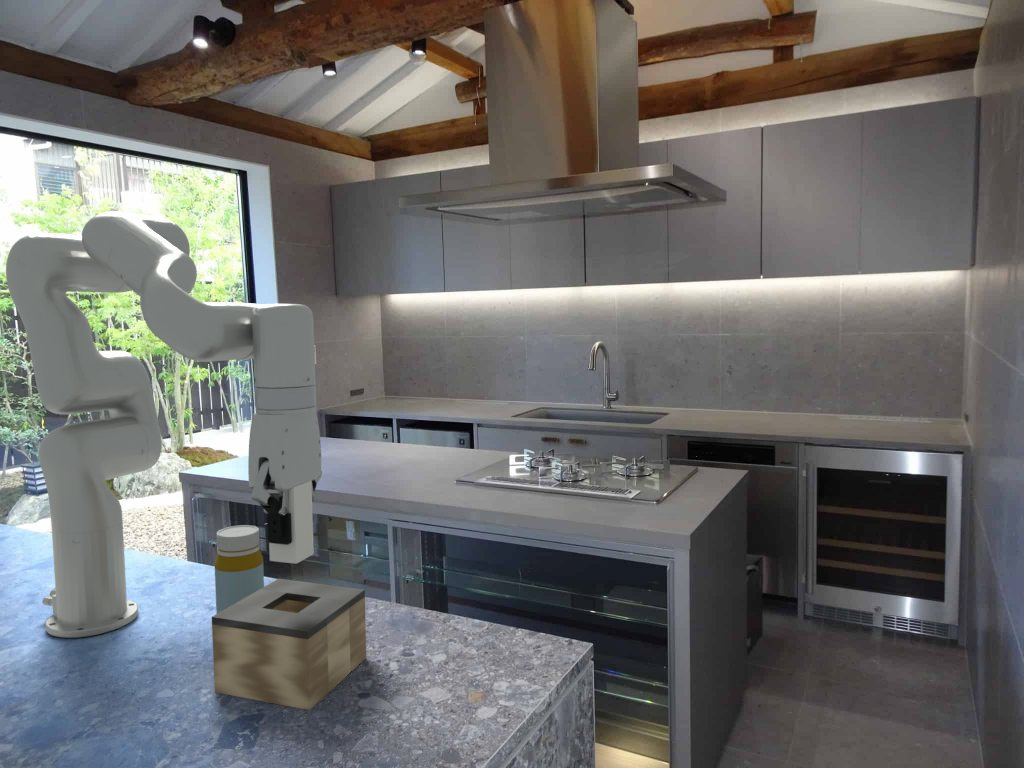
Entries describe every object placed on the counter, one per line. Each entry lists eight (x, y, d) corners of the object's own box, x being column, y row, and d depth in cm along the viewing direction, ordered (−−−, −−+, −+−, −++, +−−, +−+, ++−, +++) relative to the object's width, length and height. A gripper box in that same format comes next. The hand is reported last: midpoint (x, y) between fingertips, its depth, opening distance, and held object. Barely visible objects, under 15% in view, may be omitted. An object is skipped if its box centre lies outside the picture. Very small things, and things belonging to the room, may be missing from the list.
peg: (269, 560, 94) (266, 485, 93) (288, 551, 98) (285, 478, 97) (296, 563, 93) (293, 487, 92) (313, 553, 97) (311, 480, 96)
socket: (214, 692, 92) (211, 616, 91) (280, 644, 106) (278, 578, 105) (309, 710, 88) (307, 631, 87) (366, 658, 101) (364, 589, 101)
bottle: (249, 636, 108) (245, 539, 107) (207, 632, 110) (203, 536, 108) (273, 617, 115) (270, 525, 114) (234, 613, 117) (230, 523, 115)
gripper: (298, 392, 102) (302, 518, 104) (217, 406, 87) (224, 555, 88) (345, 393, 100) (348, 522, 102) (270, 408, 84) (276, 561, 86)
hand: (290, 536), depth 95 cm, fingers closed on peg, 4 cm apart
